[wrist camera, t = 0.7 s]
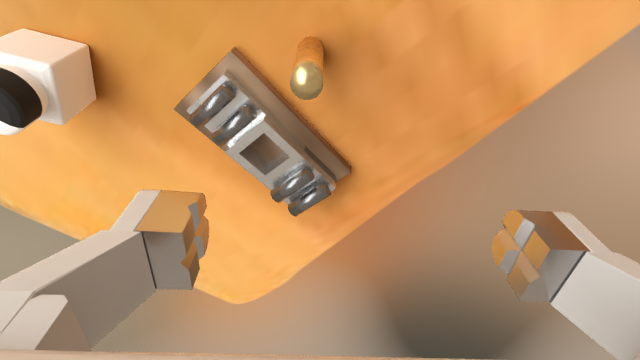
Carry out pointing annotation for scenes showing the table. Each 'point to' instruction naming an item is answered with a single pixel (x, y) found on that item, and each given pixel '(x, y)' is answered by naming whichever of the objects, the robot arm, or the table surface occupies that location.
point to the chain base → (275, 105)
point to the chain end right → (285, 168)
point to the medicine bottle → (42, 79)
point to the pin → (308, 69)
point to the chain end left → (232, 114)
